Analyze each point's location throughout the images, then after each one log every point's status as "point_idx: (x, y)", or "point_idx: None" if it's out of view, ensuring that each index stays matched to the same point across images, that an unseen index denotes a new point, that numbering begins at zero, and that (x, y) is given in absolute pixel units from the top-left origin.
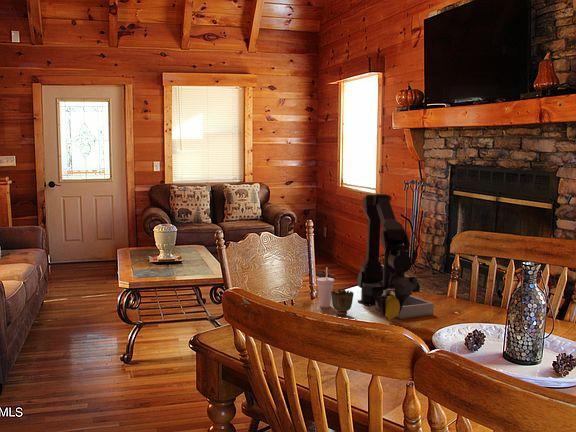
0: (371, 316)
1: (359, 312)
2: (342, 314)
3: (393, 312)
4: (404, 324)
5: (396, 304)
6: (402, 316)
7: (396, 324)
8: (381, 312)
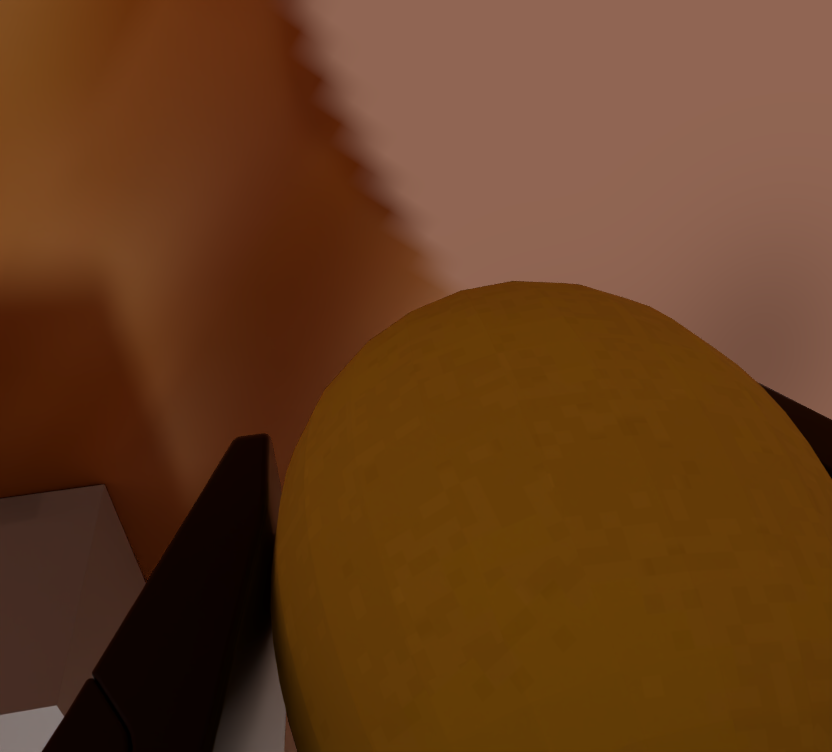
0: None
1: None
2: None
3: (632, 310)
4: (166, 173)
5: (631, 539)
6: (32, 530)
7: (352, 226)
8: None
